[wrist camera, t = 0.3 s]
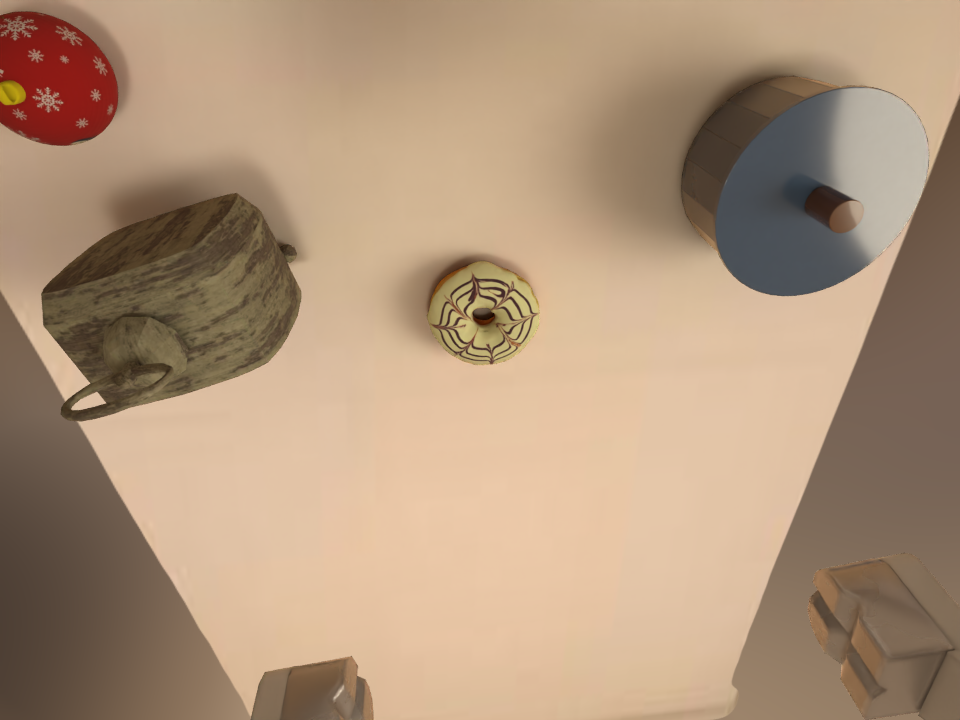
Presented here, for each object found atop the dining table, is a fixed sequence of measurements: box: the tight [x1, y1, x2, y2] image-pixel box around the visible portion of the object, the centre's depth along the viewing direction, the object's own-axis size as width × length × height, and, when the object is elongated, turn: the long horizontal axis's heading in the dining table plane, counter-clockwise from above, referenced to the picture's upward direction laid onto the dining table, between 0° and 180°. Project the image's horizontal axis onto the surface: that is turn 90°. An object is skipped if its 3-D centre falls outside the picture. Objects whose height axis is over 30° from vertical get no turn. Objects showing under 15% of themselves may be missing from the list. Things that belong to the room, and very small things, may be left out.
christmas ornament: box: [0, 12, 118, 146], centre depth 42 cm, size 9×9×10 cm
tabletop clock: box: [41, 193, 301, 421], centre depth 44 cm, size 14×9×25 cm, turn 105°
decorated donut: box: [427, 261, 539, 365], centre depth 59 cm, size 10×11×4 cm
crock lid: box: [713, 86, 929, 296], centre depth 46 cm, size 17×17×5 cm
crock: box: [681, 76, 840, 251], centre depth 51 cm, size 16×16×8 cm
